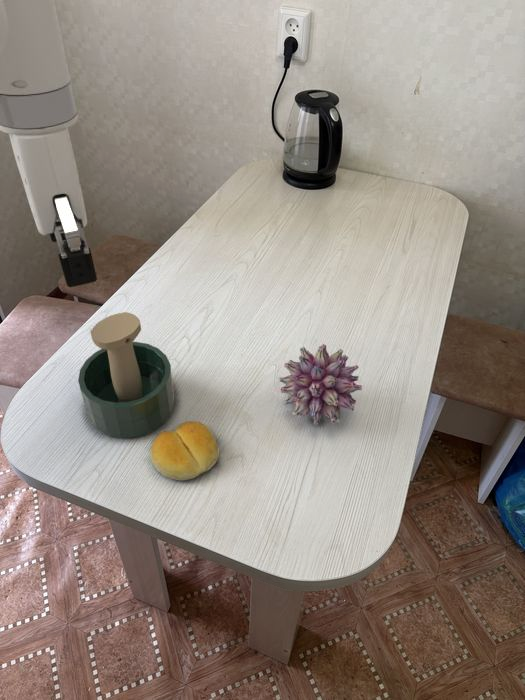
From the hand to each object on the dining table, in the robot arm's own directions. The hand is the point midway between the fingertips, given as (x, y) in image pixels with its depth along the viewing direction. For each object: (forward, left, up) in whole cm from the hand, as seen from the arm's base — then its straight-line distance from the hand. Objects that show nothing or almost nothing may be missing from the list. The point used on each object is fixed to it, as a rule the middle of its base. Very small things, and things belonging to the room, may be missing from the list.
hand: (73, 259), depth 59 cm
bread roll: (+7, -14, -26) cm, 30 cm away
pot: (+3, -2, -25) cm, 26 cm away
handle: (+3, -2, -25) cm, 25 cm away
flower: (+28, -14, -26) cm, 40 cm away
